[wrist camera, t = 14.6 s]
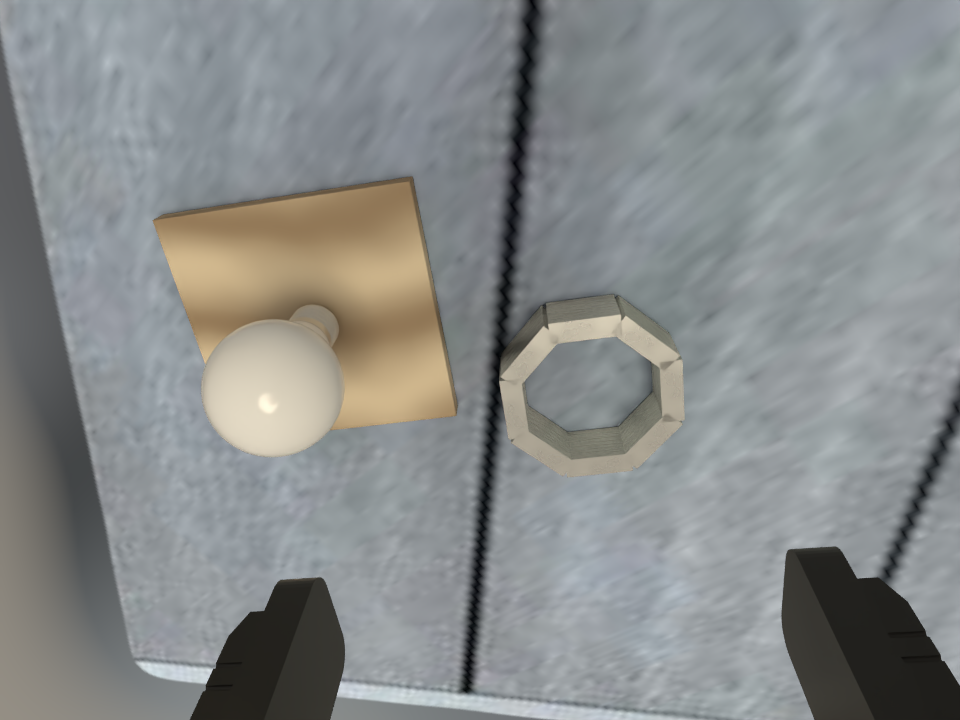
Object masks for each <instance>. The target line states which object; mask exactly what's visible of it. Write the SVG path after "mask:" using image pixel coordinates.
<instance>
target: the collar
mask: <svg viewBox="0 0 960 720" xmlns="http://www.w3.org/2000/svg"><path fill="white" fill-rule="evenodd" d="M614 336H616V337H617V338H619V339H620V340H622V341H623V342H624V343H626V344H627V345H629V346H630V347H631V348H633V349H634V350H635V351H637V352H638V353H640V354H641V355H642V356H644V357H645V358H647V359H648V360H649V361H651V366H652V384H653V392H652V393H651V394H650V395H649V396H648V397H647V398H646V399H645V400H644V401H643V402H642V403H641V404H640V405H639V406H638V407H637V408H636V409H635V410H634V411H633V412H632V413H631V414H630V415H629V416H628V417H627V418H626V419H625V421H624V422H623V423H622V424H621V425H620V426H619V427H611V428H602V429H593V430H584V431H574V432H567V431H565V430H564V429H562V428H561V427H559V426H558V425H556V424H555V423H553V422H552V421H550V420H549V419H547V418H546V417H544V416H543V415H541V414H540V413H538V412H537V411H535V410H534V409H532V408H531V407H529V406H528V402H527V396H526V389H525V382H524V381H525V380H526V379H527V378H528V377H529V375H530V374H531V373H532V372H533V371H534V370H535V368H536V367H537V366H538V365H539V364H540V363H541V362H542V360H543V359H544V358H545V357H546V356H547V355H548V354H549V352H550V351H551V350H552V349H553V348H554V347H555V345H556V344H558V343H566V342H574V341H582V340H590V339H598V338H606V337H614ZM499 383H500V389H501V395H502V401H503V407H504V413H505V419H506V425H507V432H508V438H509V439H511V443H512V444H514V445H515V446H517V447H518V448H520V449H521V450H523V451H525V452H526V453H528V454H529V455H531V456H532V457H534V458H535V459H537V460H538V461H540V462H542V463H543V464H545V465H546V466H548V467H549V468H551V469H552V470H554V471H555V472H557V473H559V474H560V475H562V476H564V475H565V474H566V473H567V477H576V476H586V475H595V474H605V473H615V472H625V471H633V468H632V466H634V467H635V468H638V467H639V466H640V465H641V464H642V463H643V462H644V461H646V460H647V459H648V458H649V457H650V456H651V455H652V454H653V453H654V452H655V451H656V450H657V449H658V448H659V447H660V446H661V445H662V444H663V443H664V442H665V441H666V440H667V439H668V438H669V437H670V436H671V435H672V434H673V433H674V432H675V431H676V430H677V429H678V428H679V427H680V426H681V425H682V421H681V420H684V393H683V365H682V358H681V356H680V354H679V352H678V350H677V348H676V346H675V344H674V341H673V339H672V337H671V336H670V334H669V332H667V331H666V330H665V329H663V328H662V327H661V326H659V325H658V324H657V323H655V322H654V321H652V320H651V319H650V318H648V317H647V316H646V315H644V314H643V313H642V312H640V311H639V310H638V309H636V308H635V307H634V306H632V305H631V304H629V303H628V302H627V301H625V300H624V299H623V298H621V297H620V296H619V295H618V296H617V297H616V299H615V297H614V294H611V295H603V296H595V297H588V298H580V299H572V300H565V301H557V302H549V303H546V308H545V307H543V306H542V305H541V307H540V308H539V309H538V310H537V311H536V313H535V314H534V315H533V316H532V317H531V319H530V320H529V321H528V322H527V323H526V325H525V326H524V327H523V328H522V329H521V331H520V332H519V333H518V334H517V335H516V337H515V338H514V339H513V340H512V341H511V343H510V344H509V345H508V346H507V347H506V349H505V350H504V351H503V352H502V353H501V357H500V375H499Z"/></svg>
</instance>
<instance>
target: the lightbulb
mask: <svg viewBox="0 0 960 720" xmlns="http://www.w3.org/2000/svg"><path fill="white" fill-rule="evenodd" d="M338 334H339V325H338V321H337V319H336V317H335V316H334V315H333V313H332V312H330V311H329V310H328V309H326V308H325V307H323V306H320V305H315V304H310V305H305V306H302V307H300V308H299V309H297V310H296V311H295V313H294V314H293V315H292V317H291V318H290V319H289V321H288V320H282V319H266V320H260V321H255V322H252V323H249V324H246V325H244V326H241V327H239V328H238V329H236V330H234V331H233V332H231V333H230V334H228V335H227V336H226V337H225V338H224V339H223V340H222V341H221V342H220V343H219V344H218V345H217V346H216V347H215V349H214V350H213V351H212V353H211V355H210V356H209V358H208V360H207V362H206V365H205V368H204V371H203V375H202V381H201V397H202V403H203V407H204V410H205V413H206V415H207V418H208V420H209V421H210V423H211V425H212V426H213V428H214V429H215V430H216V432H217V433H218V434H219V435H220V436H221V437H222V438H223V439H224V440H225V441H227V442H228V443H229V444H231V445H232V446H234V447H235V448H237V449H239V450H241V451H243V452H246V453H249V454H252V455H256V456H261V457H283V456H288V455H292V454H295V453H298V452H301V451H303V450H305V449H307V448H309V447H311V446H312V445H314V444H315V443H317V442H318V441H319V440H320V439H322V438H323V437H324V436H325V435H326V434H327V433H328V431H329V430H330V429H331V428H332V426H333V425H334V423H335V422H336V420H337V418H338V416H339V414H340V411H341V408H342V405H343V400H344V394H345V381H344V374H343V370H342V367H341V364H340V361H339V359H338V357H337V355H336V353H335V352H334V350H333V349H332V346H333V344H334V342H335V341H336V339H337V337H338Z"/></svg>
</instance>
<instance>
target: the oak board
mask: <svg viewBox="0 0 960 720" xmlns="http://www.w3.org/2000/svg"><path fill="white" fill-rule="evenodd" d="M153 223H154V225H155V228H156V231H157V234H158V236H159V239H160V242H161V245H162V247H163V250H164V253H165V255H166V258H167V261H168V264H169V266H170V269H171V272H172V275H173V277H174V280H175V283H176V285H177V288H178V291H179V294H180V296H181V299H182V302H183V305H184V307H185V310H186V313H187V315H188V318H189V321H190V324H191V326H192V329H193V332H194V335H195V337H196V340H197V343H198V345H199V348H200V351H201V354H202V356H203V359H204V362H205V364H206V362H207V360H208V358H209V356H210V355H211V353H212V351H213V350H214V349H215V347H216V346H217V345H218V344H219V343H220V342H221V341H222V340H223V339H224V338H225V337H226V336H227V335H228V334H230V333H231V332H233V331H234V330H236V329H238V328H239V327H241V326H244V325H246V324H249V323H252V322H255V321H260V320H266V319H282V320H288V321H289V319H290V318H291V317H292V315H293V314H294V313H295V311H296V310H297V309H299V308H300V307H302V306H305V305H310V304H315V305H320V306H323V307H325V308H326V309H328V310H329V311H330V312H332V313H333V315H334V316H335V317H336V319H337V321H338V325H339V334H338V337H337V339H336V341H335V342H334V344H333V346H332V349H333V350H334V352H335V353H336V355H337V357H338V359H339V361H340V364H341V367H342V370H343V374H344V381H345V394H344V400H343V405H342V408H341V411H340V414H339V416H338V418H337V420H336V422H335V423H334V425H333V426H332V428H331V429H330V430H336V429H345V428H354V427H363V426H371V425H380V424H389V423H398V422H407V421H415V420H424V419H433V418H442V417H450V416H456V414H457V407H458V405H457V399H456V394H455V389H454V384H453V379H452V374H451V369H450V364H449V359H448V354H447V349H446V344H445V339H444V334H443V329H442V324H441V319H440V313H439V308H438V303H437V298H436V293H435V288H434V283H433V278H432V273H431V268H430V263H429V258H428V253H427V248H426V243H425V238H424V233H423V227H422V222H421V217H420V212H419V207H418V202H417V197H416V192H415V187H414V182H413V177H405V178H399V179H392V180H386V181H379V182H373V183H366V184H360V185H353V186H347V187H340V188H334V189H327V190H321V191H314V192H308V193H301V194H294V195H288V196H281V197H275V198H268V199H262V200H255V201H249V202H242V203H236V204H229V205H223V206H216V207H210V208H203V209H197V210H190V211H183V212H177V213H170V214H164V215H161V216H160V217H158V218H156V219H154V220H153Z"/></svg>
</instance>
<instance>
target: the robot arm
mask: <svg viewBox="0 0 960 720" xmlns="http://www.w3.org/2000/svg"><path fill="white" fill-rule="evenodd" d="M782 628H783V634H784V639H785V643H786V647H787V650H788V653H789V656H790V658H791V661H792V663H793V666H794V669H795V671H796V674H797V676H798V679H799V681H800V684H801V686H802V689H803V691H804V694H805V697H806V699H807V702H808V704H809V707H810V709H811V712H812V714H813V717H814V719H815V720H960V685H959V684H958V682H957V681H956V679H955V677H954V676H953V674H952V673H951V671H950V669H949V668H948V666H947V664H946V663H945V661H942V660H941V655H940V653H939V652H938V650H937V648H936V647H935V645H934V644H933V642H932V640H931V639H930V637H927V636H926V631H925V629H924V627H923V626H922V624H921V623H920V621H919V619H918V618H917V616H916V615H915V613H914V611H913V610H912V608H911V606H910V605H909V603H908V602H907V601H906V600H905V599H904V598H902V597H901V596H900V595H899V594H898V593H896V592H895V591H894V590H893V589H892V588H890V587H889V586H888V585H887V584H886V583H884V582H883V581H882V580H881V579H880V578H860V579H857V578H856V576H855V574H854V572H853V570H852V569H851V567H850V565H849V563H848V561H847V560H846V558H845V556H844V554H843V553H842V551H841V550H840V549H839V548H838V547H820V548H804V549H789V550H788V551H787V554H786V561H785V574H784V587H783V600H782ZM344 661H345V644H344V638H343V634H342V631H341V627H340V624H339V621H338V618H337V615H336V612H335V609H334V606H333V603H332V600H331V597H330V594H329V591H328V588H327V585H326V583H325V581H324V579H323V578H321V577H318V578H302V579H286V580H280V581H279V582H277V584H276V585H275V587H274V589H273V592H272V594H271V596H270V599H269V601H268V603H267V606H266V608H265V611H257V612H250V613H249V614H248V615H247V616H246V617H245V619H244V620H243V621H242V622H241V623H240V624H239V625H238V626H237V627H236V629H235V630H234V631H233V632H232V633H231V634H230V635H229V636H228V639H227V641H226V643H225V645H224V647H223V649H222V651H221V654H220V656H219V658H218V660H217V662H216V669H213V671H212V673H211V675H210V677H209V680H208V682H207V684H206V690H205V691H204V692H203V693H202V695H201V697H200V699H199V701H198V703H197V706H196V708H195V710H194V712H193V714H192V716H191V719H190V720H330V718H331V714H332V711H333V707H334V703H335V699H336V696H337V692H338V688H339V685H340V681H341V677H342V674H343V669H344Z"/></svg>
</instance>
